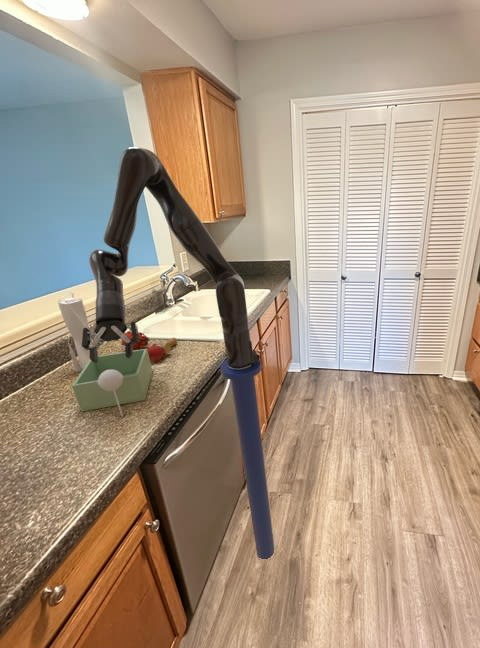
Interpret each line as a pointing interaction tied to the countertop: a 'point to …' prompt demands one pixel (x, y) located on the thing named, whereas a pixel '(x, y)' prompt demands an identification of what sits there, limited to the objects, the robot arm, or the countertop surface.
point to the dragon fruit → (142, 340)
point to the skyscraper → (76, 328)
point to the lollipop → (111, 382)
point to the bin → (131, 389)
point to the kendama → (160, 349)
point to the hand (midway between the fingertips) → (111, 359)
